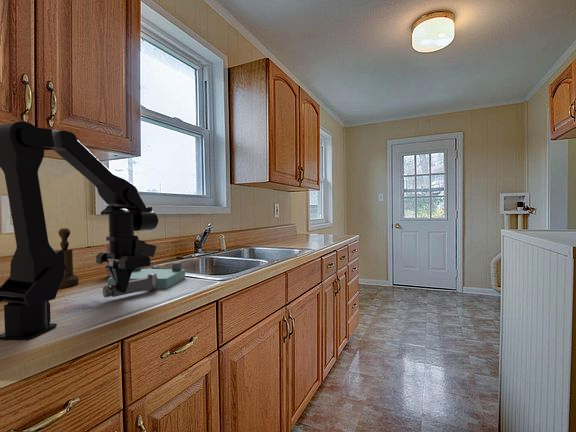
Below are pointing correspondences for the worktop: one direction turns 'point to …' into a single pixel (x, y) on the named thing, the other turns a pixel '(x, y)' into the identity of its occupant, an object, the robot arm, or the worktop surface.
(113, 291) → the folding leg
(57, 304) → the worktop surface
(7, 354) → the worktop surface
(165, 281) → the stool seat
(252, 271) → the worktop surface
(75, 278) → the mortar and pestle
